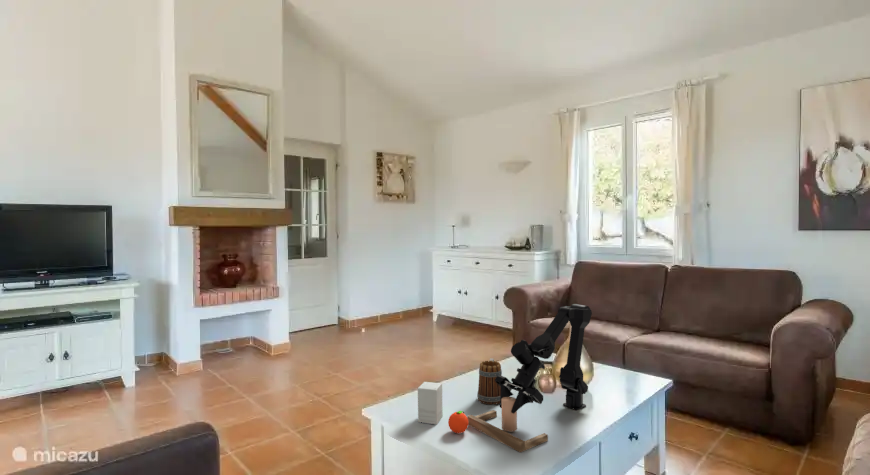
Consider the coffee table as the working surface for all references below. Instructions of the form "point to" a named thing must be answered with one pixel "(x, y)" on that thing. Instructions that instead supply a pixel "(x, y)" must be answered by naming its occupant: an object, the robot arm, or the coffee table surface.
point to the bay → (503, 432)
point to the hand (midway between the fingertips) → (506, 410)
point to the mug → (489, 382)
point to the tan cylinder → (508, 414)
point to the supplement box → (430, 403)
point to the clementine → (458, 422)
